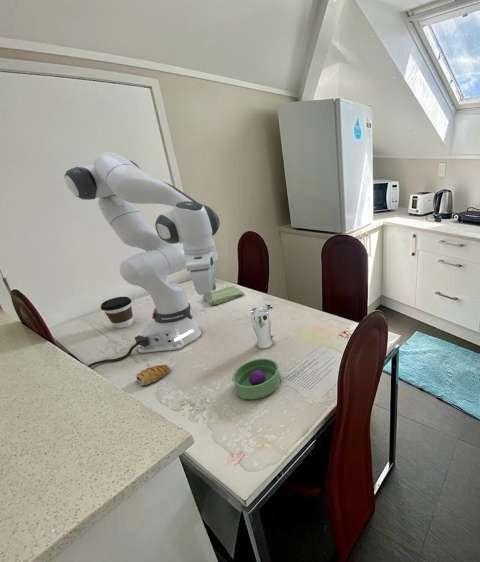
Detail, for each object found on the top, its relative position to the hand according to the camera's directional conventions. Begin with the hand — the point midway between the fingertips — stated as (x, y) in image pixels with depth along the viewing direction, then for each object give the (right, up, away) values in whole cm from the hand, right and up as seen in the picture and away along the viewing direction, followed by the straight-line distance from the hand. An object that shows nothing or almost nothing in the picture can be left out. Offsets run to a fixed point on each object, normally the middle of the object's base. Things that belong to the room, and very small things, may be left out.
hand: (211, 295), depth 102 cm
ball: (+14, -30, +2) cm, 33 cm away
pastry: (-24, -29, +7) cm, 39 cm away
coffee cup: (-61, -15, +40) cm, 74 cm away
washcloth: (-27, -4, +64) cm, 70 cm away
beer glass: (+9, -21, +24) cm, 34 cm away
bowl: (+14, -30, +3) cm, 34 cm away
